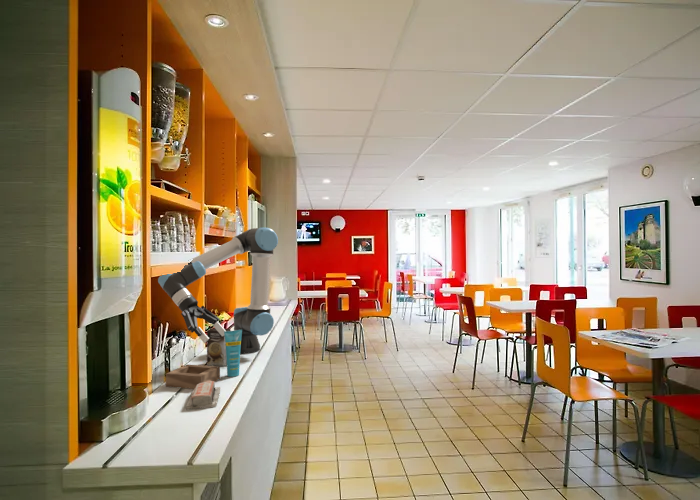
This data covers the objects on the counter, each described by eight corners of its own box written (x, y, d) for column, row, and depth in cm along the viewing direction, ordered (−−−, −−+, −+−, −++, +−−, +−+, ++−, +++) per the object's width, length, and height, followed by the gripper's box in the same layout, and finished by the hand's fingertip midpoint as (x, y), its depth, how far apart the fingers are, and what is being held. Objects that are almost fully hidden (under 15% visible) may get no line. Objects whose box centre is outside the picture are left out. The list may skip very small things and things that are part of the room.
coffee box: (206, 365, 193) (206, 330, 193) (214, 361, 199) (213, 327, 199) (224, 366, 190) (223, 331, 190) (231, 362, 197) (231, 328, 197)
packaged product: (216, 394, 141) (185, 396, 139) (216, 408, 141) (185, 411, 139) (220, 378, 159) (193, 380, 156) (220, 390, 159) (193, 393, 156)
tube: (226, 378, 172) (226, 332, 172) (223, 375, 176) (222, 330, 176) (243, 375, 176) (243, 330, 176) (240, 372, 180) (239, 328, 180)
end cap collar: (187, 376, 176) (187, 364, 176) (220, 378, 172) (219, 366, 172) (165, 386, 162) (165, 373, 162) (201, 389, 159) (200, 376, 159)
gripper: (197, 303, 193) (226, 337, 190) (160, 311, 169) (192, 350, 166) (207, 292, 192) (236, 326, 189) (171, 298, 168) (204, 337, 164)
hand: (216, 337), depth 177 cm, fingers open, 13 cm apart
